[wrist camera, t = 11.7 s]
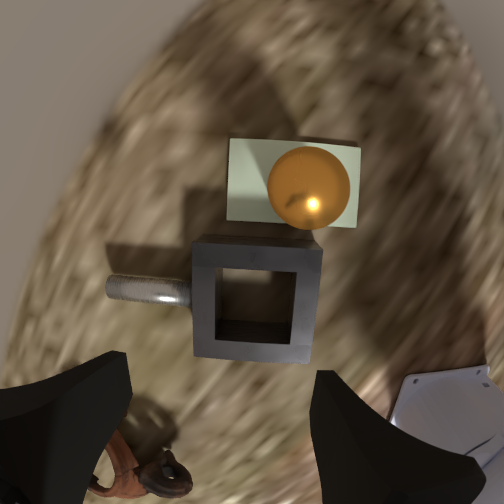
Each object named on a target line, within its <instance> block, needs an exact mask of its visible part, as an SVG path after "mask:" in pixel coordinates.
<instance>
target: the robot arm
mask: <svg viewBox="0 0 504 504" xmlns="http://www.w3.org/2000/svg"><path fill="white" fill-rule="evenodd" d="M489 369H490V367H489V366H488V365H481V366H475V367H469V368H462V369H455V370H448V371H440V372H431V373H422V374H411V375H408V376H406V377H405V379H404V381H403V384H402V387H401V390H400V393H399V396H398V399H397V401H396V404H395V407H394V410H393V412H392V415H391V418H390V420H389V421H387V420H386V419H384V418H383V417H382V416H380V415H379V414H378V413H377V412H375V411H374V410H373V409H372V408H371V407H369V406H368V405H367V404H366V403H365V402H364V401H363V400H362V399H361V398H360V397H359V396H358V395H357V394H356V393H355V392H354V391H353V390H352V389H351V388H350V387H349V386H348V385H347V384H346V383H345V382H344V381H343V380H342V379H341V378H340V377H339V376H338V375H337V374H336V372H335V371H334V370H317V374H316V379H315V385H314V390H313V396H312V401H311V406H310V411H309V414H310V429H311V437H312V442H313V447H314V452H315V457H316V461H317V466H318V471H319V476H320V481H321V488H322V502H323V504H504V393H503V392H502V391H501V390H500V389H499V388H498V387H497V386H496V384H495V383H494V382H493V381H492V380H491V379H490V378H489V377H488V376H487V375H488V372H489ZM477 371H478V372H477ZM415 379H416V380H415ZM414 380H415V381H414ZM132 395H133V392H132V387H131V381H130V375H129V369H128V363H127V357H126V353H124V352H118V351H113V350H112V351H110V352H107V353H104V354H102V355H100V356H98V357H96V358H94V359H92V360H89V361H87V362H85V363H83V364H81V365H79V366H77V367H75V368H72V369H70V370H68V371H65V372H63V373H60V374H58V375H56V376H53V377H50V378H48V379H45V380H42V381H38V382H35V383H31V384H27V385H23V386H17V387H12V388H6V389H0V504H83V501H84V497H85V494H86V491H87V488H88V485H89V482H90V480H91V477H92V474H93V472H94V469H95V467H96V464H97V462H98V460H99V458H100V456H101V454H102V452H103V450H104V449H105V447H106V445H107V444H108V442H109V440H110V439H111V437H112V435H113V433H114V432H115V430H116V429H117V427H118V425H119V423H120V422H121V420H122V418H123V417H124V415H125V413H126V410H127V408H128V406H129V403H130V400H131V398H132Z"/></svg>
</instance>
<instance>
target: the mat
mask: <svg viewBox="0 0 504 504" xmlns="http://www.w3.org/2000/svg"><path fill="white" fill-rule="evenodd" d="M303 146H313V147H318V148H322V149H324V150H327V151H328V152H330V153H332V154H333V155H334V156H336V157H337V158H338V159H339V160H340V161H341V163H342V164H343V166H344V167H345V169H346V171H347V173H348V176H349V180H350V197H349V201H348V204H347V206H346V208H345V210H344V212H343V213H342V214H341V216H340V217H339V218H338V219H337V220H335V221H334V222H333V223H331V224H330V225H328V226H336V227H349V228H356V224H357V212H358V198H359V181H360V158H361V148H357V147H349V146H340V145H331V144H321V143H310V142H297V141H282V140H264V139H234V138H230V151H229V172H228V195H227V220H233V221H254V222H272V223H286V222H285V221H283V220H282V219H281V218H280V217H279V216H278V215H277V214H276V212H275V211H274V209H273V208H272V206H271V204H270V201H269V198H268V192H267V182H268V177H269V174H270V171H271V169H272V167H273V165H274V164H275V162H276V161H277V160H278V159H279V158H280V157H281V156H282V155H283V154H285V153H286V152H288V151H290V150H292V149H294V148H298V147H303Z"/></svg>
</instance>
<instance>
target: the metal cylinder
mask: <svg viewBox="0 0 504 504" xmlns="http://www.w3.org/2000/svg"><path fill="white" fill-rule="evenodd" d="M267 192H268V198H269V201H270V204H271V206H272V208H273V209H274V211H275V212H276V214H277V215H278V216H279V217H280V218H281V219H282V220H283V221H285V222H286V223H287V224H289V225H291V226H293V227H296V228H299V229H305V230H314V229H320V228H323V227H326V226H328V225H330V224H331V223H333V222H334V221H335V220H337V219H338V218H339V217H340V216H341V214H342V213H343V212H344V210H345V208H346V206H347V204H348V201H349V197H350V180H349V176H348V173H347V171H346V169H345V167H344V166H343V164H342V163H341V161H340V160H339V159H338V158H337V157H336V156H334V155H333V154H332V153H330V152H328V151H327V150H324V149H322V148H318V147H313V146H303V147H298V148H294V149H292V150H290V151H288V152H286V153H285V154H283V155H282V156H281V157H280V158H279V159H278V160H277V161H276V162H275V164H274V165H273V167H272V169H271V171H270V174H269V177H268V182H267Z"/></svg>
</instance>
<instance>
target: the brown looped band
mask: <svg viewBox="0 0 504 504" xmlns="http://www.w3.org/2000/svg"><path fill="white" fill-rule="evenodd" d="M126 416H127V411H126V413H125V415H124V417H126ZM105 450H106V451H107V453H108V455H109V457H110V459H111V462H112V465H113V469H114V472H115V480H114V483H113V485H112V487H111V488H104V487H103V486H101V485H99V484H98V483H97V481H98V480H99V479H98V478H97V477H96V476H95V475H94V474H92V477H91V480H90V482H89V485H88V488H87V489H88V490H89V491H92V492H93V493H95V494H97V495H99V496H102V497H114V496H116V497H119V498H127V499H133V498H139V497H142V496H145V495H147V494H148V493H153V494H155V495H157V496H159V497H164V498H181V497H183V496H185V495H187V494H188V493H189V492H190V491H191V490H192V486H193V482H192V478H191V475H190V473H189V471H188V470H187V469H186V468H185V467H184V466H183V465H181V464H180V463H178V462H177V461H176V459H175V457H174V455H173V453H172V452H171V451H170V450H166V451H165V453H164V454H163V455H162V456H161V457H160V458H159V459H158V460H156V461H155V462H151V463H149V464H147V465H146V466H145V467H143V468H142V469H139V468H138V467H137V466H139V464H138V462H137V460H136V459H135V457H134V455H133V454H132V451H131V449H130V448H129V446H128V445H127V444H126V442H125V441H124V439H123V437H122V435H121V434H120V432H119V431H118V429H116V430H115V432H114V433H113V435H112V437H111V439H110V440H109V442H108V444H107V445H106V447H105ZM169 477H173V478H174V479H171V478H169Z"/></svg>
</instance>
